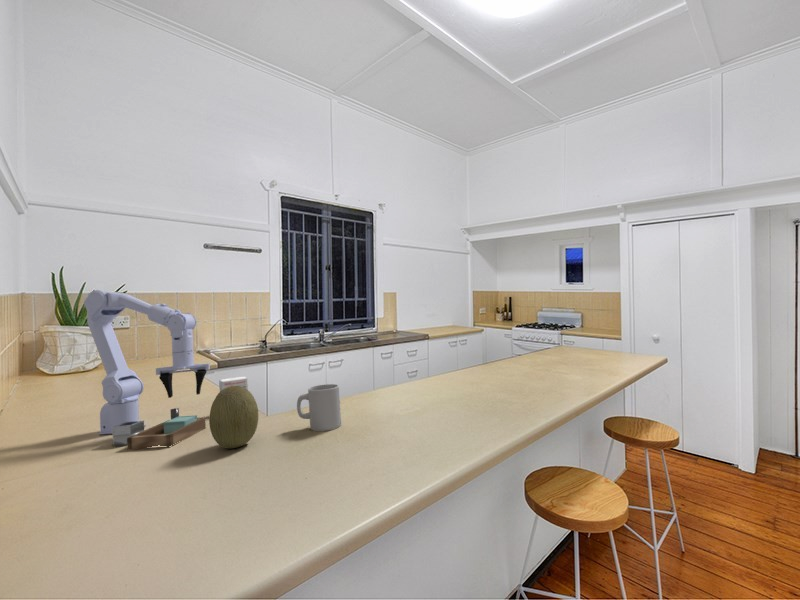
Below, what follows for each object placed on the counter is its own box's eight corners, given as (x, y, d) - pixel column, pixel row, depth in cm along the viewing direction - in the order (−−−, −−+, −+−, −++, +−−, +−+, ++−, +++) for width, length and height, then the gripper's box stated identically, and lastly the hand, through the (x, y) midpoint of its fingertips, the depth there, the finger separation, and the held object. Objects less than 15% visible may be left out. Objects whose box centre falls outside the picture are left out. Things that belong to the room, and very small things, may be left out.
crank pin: (169, 428, 114) (168, 410, 114) (174, 426, 116) (173, 408, 117) (176, 427, 114) (175, 409, 114) (181, 425, 116) (180, 407, 116)
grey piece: (106, 447, 99) (105, 428, 99) (126, 438, 106) (126, 420, 106) (131, 445, 99) (131, 426, 99) (150, 437, 106) (149, 419, 106)
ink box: (222, 416, 124) (220, 381, 125) (220, 413, 128) (218, 379, 129) (249, 411, 129) (247, 377, 130) (246, 408, 133) (244, 375, 134)
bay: (127, 449, 96) (127, 437, 96) (168, 430, 112) (168, 420, 112) (170, 447, 95) (170, 435, 95) (205, 428, 111) (205, 417, 111)
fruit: (212, 444, 95) (209, 385, 96) (259, 435, 100) (255, 379, 100) (208, 458, 85) (205, 392, 85) (261, 448, 89) (257, 385, 90)
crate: (163, 437, 105) (163, 422, 106) (177, 430, 112) (176, 416, 112) (185, 435, 105) (184, 421, 105) (197, 429, 111) (196, 415, 112)
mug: (343, 421, 108) (341, 383, 108) (339, 430, 99) (336, 388, 100) (302, 424, 108) (299, 386, 108) (294, 433, 99) (291, 392, 100)
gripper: (152, 354, 110) (153, 401, 109) (206, 350, 115) (208, 394, 114) (159, 353, 117) (160, 396, 116) (210, 349, 121) (211, 390, 121)
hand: (184, 395), depth 115 cm, fingers open, 7 cm apart
